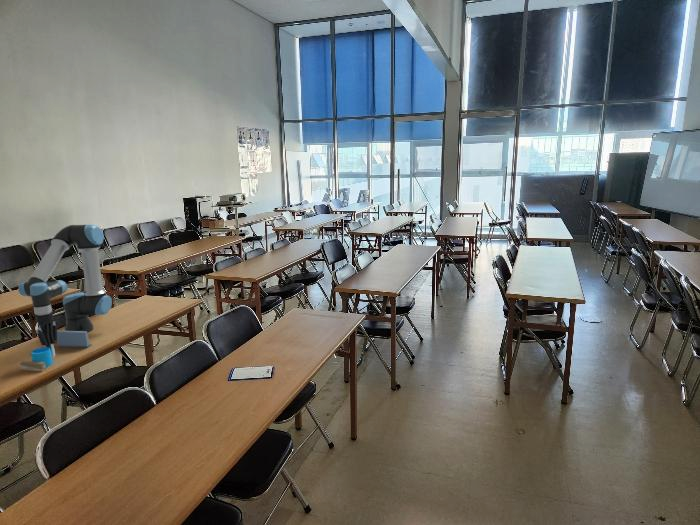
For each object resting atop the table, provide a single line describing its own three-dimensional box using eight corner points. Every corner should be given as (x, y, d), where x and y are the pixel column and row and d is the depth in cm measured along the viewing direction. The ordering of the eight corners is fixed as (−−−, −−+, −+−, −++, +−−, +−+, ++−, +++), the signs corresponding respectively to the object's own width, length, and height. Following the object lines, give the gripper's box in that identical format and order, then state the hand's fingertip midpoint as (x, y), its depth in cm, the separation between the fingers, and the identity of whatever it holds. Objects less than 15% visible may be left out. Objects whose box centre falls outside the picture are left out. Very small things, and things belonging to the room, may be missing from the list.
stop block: (24, 368, 225) (23, 361, 224) (46, 369, 223) (44, 361, 222) (21, 370, 223) (19, 362, 222) (42, 371, 221) (41, 363, 221)
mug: (50, 367, 226) (47, 352, 224) (31, 370, 223) (28, 354, 221) (57, 357, 237) (54, 343, 235) (39, 360, 234) (36, 345, 232)
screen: (63, 344, 254) (60, 329, 252) (92, 345, 252) (89, 330, 250) (58, 346, 251) (55, 331, 249) (87, 347, 248) (84, 332, 246)
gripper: (47, 308, 236) (55, 350, 241) (26, 317, 223) (35, 361, 229) (60, 309, 235) (67, 350, 240) (40, 317, 222) (48, 361, 228)
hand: (52, 355), depth 234 cm, fingers closed
